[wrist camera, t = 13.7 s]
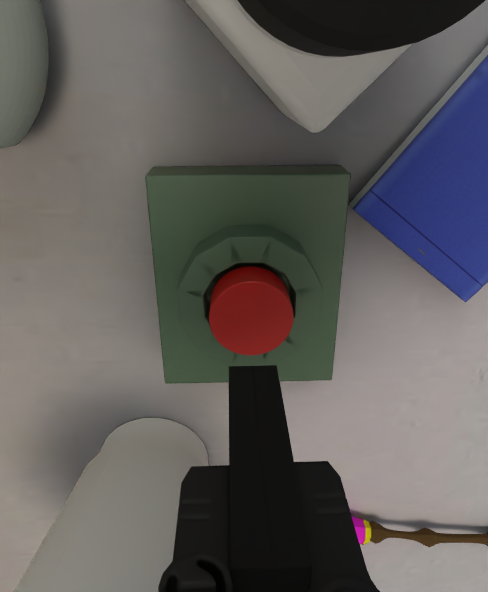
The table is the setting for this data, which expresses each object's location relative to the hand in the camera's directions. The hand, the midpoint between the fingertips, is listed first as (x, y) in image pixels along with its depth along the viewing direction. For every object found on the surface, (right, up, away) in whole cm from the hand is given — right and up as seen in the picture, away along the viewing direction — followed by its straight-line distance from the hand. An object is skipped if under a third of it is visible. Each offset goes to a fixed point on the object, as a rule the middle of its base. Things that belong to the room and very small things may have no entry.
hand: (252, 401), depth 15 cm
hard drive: (+12, +10, +7) cm, 17 cm away
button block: (0, +5, +10) cm, 11 cm away
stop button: (0, +3, +6) cm, 7 cm away
